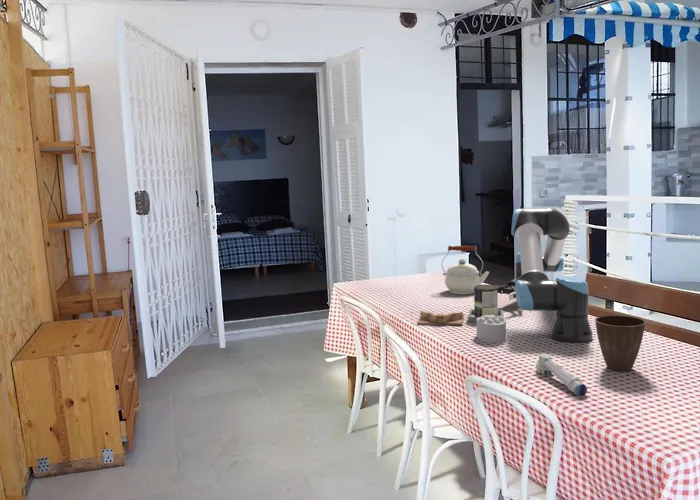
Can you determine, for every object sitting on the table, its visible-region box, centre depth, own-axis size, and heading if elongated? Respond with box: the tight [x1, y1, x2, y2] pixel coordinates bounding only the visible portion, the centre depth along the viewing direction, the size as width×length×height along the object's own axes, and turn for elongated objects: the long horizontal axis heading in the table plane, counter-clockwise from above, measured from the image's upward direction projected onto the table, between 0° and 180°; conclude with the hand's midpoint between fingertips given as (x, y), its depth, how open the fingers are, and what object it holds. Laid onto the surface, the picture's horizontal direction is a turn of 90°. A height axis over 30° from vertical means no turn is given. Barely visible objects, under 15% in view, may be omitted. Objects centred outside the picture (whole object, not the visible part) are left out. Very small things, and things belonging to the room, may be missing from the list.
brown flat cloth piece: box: [416, 310, 465, 327], centre depth 275 cm, size 16×19×4 cm
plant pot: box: [594, 315, 646, 372], centre depth 205 cm, size 15×15×16 cm
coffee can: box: [473, 284, 499, 317], centre depth 277 cm, size 10×10×14 cm
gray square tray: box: [467, 308, 505, 323], centre depth 278 cm, size 15×15×2 cm
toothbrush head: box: [535, 353, 588, 397], centre depth 194 cm, size 5×7×25 cm
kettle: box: [441, 245, 490, 295], centre depth 334 cm, size 25×18×25 cm
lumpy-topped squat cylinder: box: [476, 315, 507, 344], centre depth 245 cm, size 10×13×9 cm
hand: (495, 295), depth 284 cm, fingers open, 13 cm apart
